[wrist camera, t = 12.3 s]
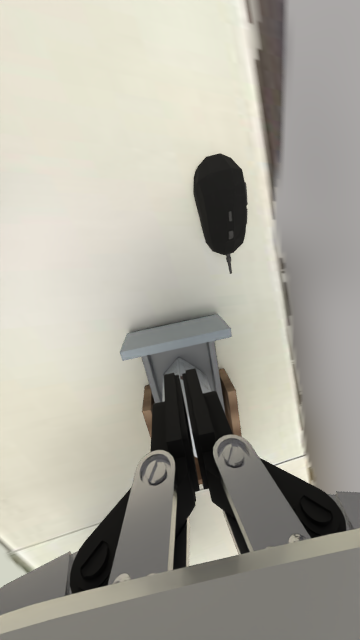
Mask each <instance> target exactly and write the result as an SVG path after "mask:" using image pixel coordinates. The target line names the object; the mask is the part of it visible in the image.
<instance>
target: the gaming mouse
mask: <svg viewBox="0 0 360 640" xmlns="http://www.w3.org/2000/svg"><path fill="white" fill-rule="evenodd" d="M194 197H195V201H196V206H197V209H198V213H199V217H200V221H201V226H202V230H203V233H204V237H205V240H206V243H207V244H208V246H209V247H210V248H211V250H212V251H214V252H217V253H220V254H223V255H226V256H227V262H228V266H229V271H230V274H231V273H232V270H231V257H230V253H233V252H234V251H235V250H236V249H237V248H238V247H239V246H240V245H241V244H242V243H243V240H244V237H245V231H246V224H247V209H246V205H247V189H246V182H244V177H243V172H242V169H241V168H240V167H239V166H238V165H237V164H236V163H235V162H234V161H233V160H232V159H231V158H230V157H227V156H225V155H223V154H216V155H212V156H208V157H206V158H205V159H204V160H203V161H202V163H201V164H200V165H199V166H198V168H197V170H196V172H195V176H194Z"/></svg>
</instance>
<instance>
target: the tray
mask: <svg viewBox="0 0 360 640" xmlns="http://www.w3.org/2000/svg"><path fill="white" fill-rule="evenodd" d="M229 337H232V335H231V328H230V327H229V326H228V325H227V324H226V322H225V321H224V320H223V319H222V318H221V317H220V316H219V315H218V314H215V315H211V316H206V317H201V318H197V319H192V320H188V321H183V322H178V323H174V324H169V325H164V326H160V327H155V328H151V329H146V330H141V331H137V332H132V333H127V335H126V337H125V340H124V343H123V345H122V348H121V351H120V354H121V357H122V360H123V361H124V360H128V359H133V358H137V357H142V361H143V364H144V367H145V371H146V374H147V378H148V381H149V385H150V388H151V391H152V395H153V398H154V402H155V403H159V402H162V397H163V375H164V374H165V372H166V371H167V370H168V369H169V368H170V366H171V365H172V364H173V363H174V362H175V361H176V359H177V358H181V359H183V360H185V361H186V362H188V363H189V364H191V365H192V366H194V367H195V368H197V369H198V370H200V371H201V372H202V373H204V374H205V375H206V377H207V380H208V383H209V386H210V389H211V392H212V391H216V392H217V394H218V397H219V400H220V402H221V405H222V407H223V410H224V412H225V408H224V402H223V395H222V389H221V382H220V376H219V369H218V363H217V356H216V350H215V343H214V341H215V340H219V339H224V338H229Z"/></svg>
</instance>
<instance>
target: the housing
mask: <svg viewBox="0 0 360 640" xmlns="http://www.w3.org/2000/svg"><path fill="white" fill-rule="evenodd" d="M219 376H220V382H221V389H222V395H223V402H224V408H225V415H226V417H227V420H228V423H229V425H230V428H231V430H232V433H233V435H237V436H240V437H242V436H241V428H240V420H239V412H238V404H237V396H236V390H235V388H234V386H233V384H232V383H231V381H230V379H229V377H228V375H227V373H226V371H225V370H224V369H219ZM154 403H155V402H154V398H153V395H152V391H151V388H150V385H147V386H145V390H144V400H143V409H142V412H143V415H144V418H145V422H146V425H147V428H148V431H149V434H150V437H151V432H152V408H153V404H154ZM194 458H195V465H196V471H197V477H198V483H199V485H200V484H203V483H202V478H201V473H200V468H199V464H198V459H197V457H195V456H194Z"/></svg>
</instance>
